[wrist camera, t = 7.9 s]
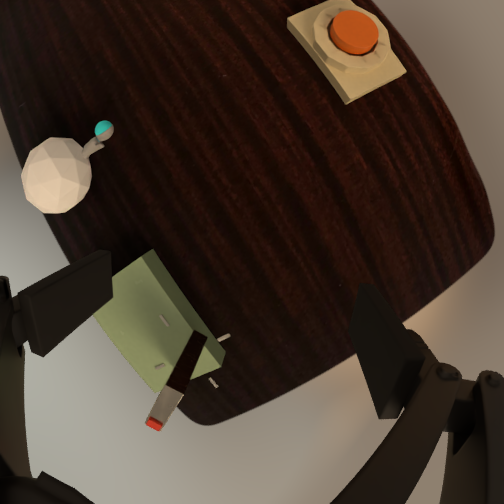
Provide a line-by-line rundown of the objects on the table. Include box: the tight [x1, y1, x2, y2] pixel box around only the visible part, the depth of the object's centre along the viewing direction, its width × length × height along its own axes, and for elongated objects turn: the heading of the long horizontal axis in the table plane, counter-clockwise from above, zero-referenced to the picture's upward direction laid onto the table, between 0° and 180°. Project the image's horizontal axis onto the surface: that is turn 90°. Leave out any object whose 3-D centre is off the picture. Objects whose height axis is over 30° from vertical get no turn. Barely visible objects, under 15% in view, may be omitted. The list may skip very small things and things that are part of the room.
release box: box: [287, 0, 407, 104], centre depth 22 cm, size 10×7×4 cm
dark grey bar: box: [145, 330, 208, 431], centre depth 26 cm, size 6×2×9 cm, turn 151°
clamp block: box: [93, 249, 231, 393], centre depth 31 cm, size 16×13×3 cm
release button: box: [330, 10, 379, 54], centre depth 19 cm, size 4×4×2 cm
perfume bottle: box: [21, 121, 114, 213], centre depth 25 cm, size 8×8×12 cm
